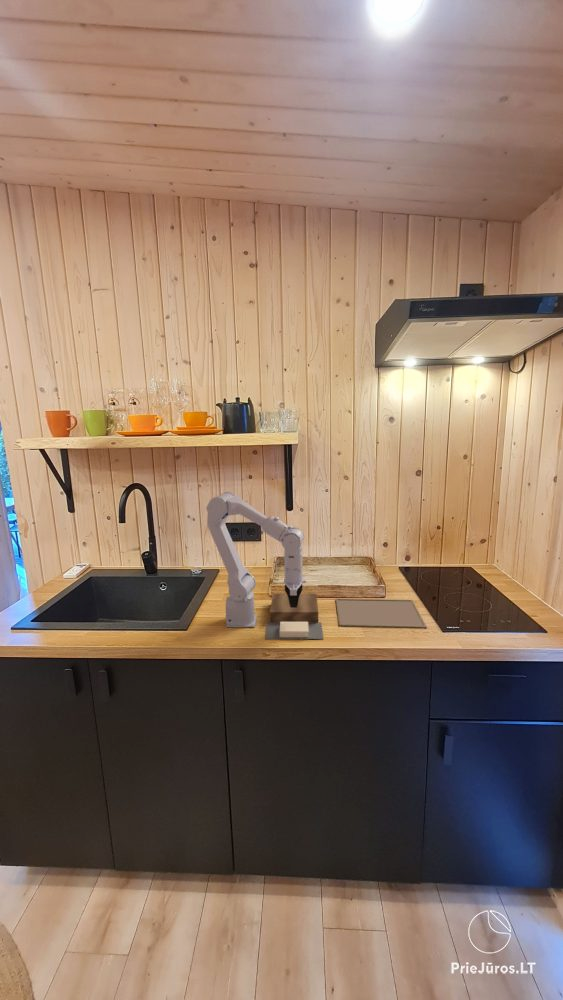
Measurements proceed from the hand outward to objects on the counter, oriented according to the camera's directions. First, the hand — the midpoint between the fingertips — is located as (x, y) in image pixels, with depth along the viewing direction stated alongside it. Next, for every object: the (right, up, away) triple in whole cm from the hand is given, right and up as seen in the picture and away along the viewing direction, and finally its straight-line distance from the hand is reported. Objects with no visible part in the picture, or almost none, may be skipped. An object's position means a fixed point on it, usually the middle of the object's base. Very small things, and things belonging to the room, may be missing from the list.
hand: (293, 606), depth 130 cm
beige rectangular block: (0, -6, -2) cm, 6 cm away
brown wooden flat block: (+1, -5, +11) cm, 13 cm away
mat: (0, -8, 0) cm, 8 cm away
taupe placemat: (+30, -6, +10) cm, 32 cm away
